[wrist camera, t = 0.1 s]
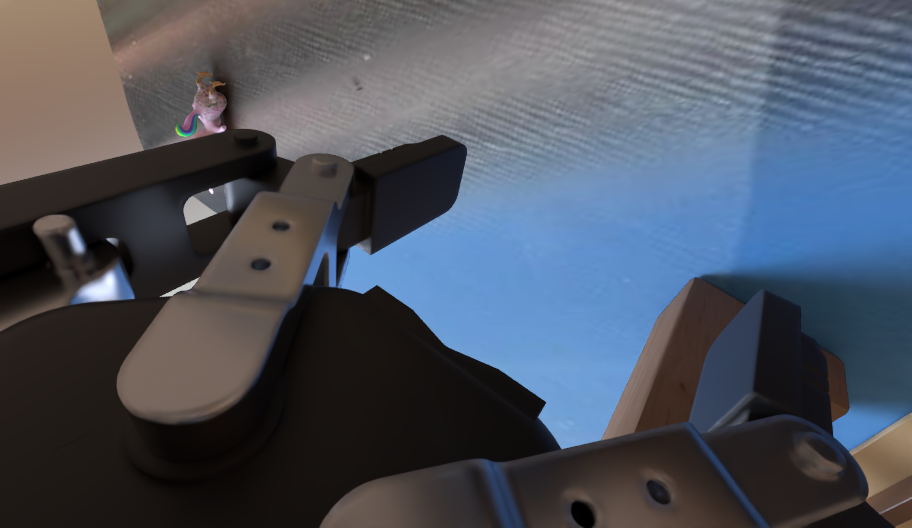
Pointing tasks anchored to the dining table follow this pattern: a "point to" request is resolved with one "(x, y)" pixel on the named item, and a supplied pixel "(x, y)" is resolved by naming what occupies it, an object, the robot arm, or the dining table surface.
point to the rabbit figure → (205, 111)
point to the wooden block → (689, 362)
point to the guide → (889, 471)
